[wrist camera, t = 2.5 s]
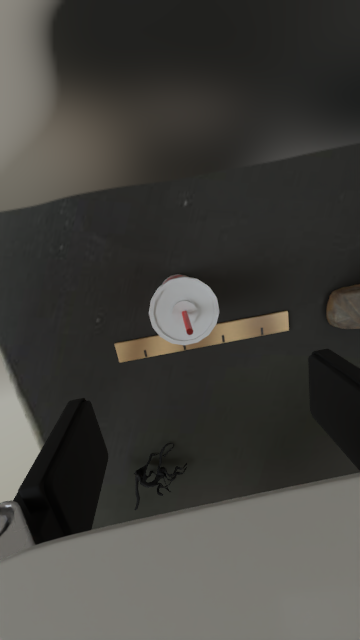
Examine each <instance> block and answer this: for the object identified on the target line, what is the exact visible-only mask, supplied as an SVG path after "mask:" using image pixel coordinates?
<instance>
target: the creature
mask: <svg viewBox="0 0 360 640" xmlns="http://www.w3.org/2000/svg"><path fill="white" fill-rule="evenodd" d="M169 444H173V443H168V444H166V445H165V446H164V447H163V449H162V450H161V452H160V463H159V466H158V469H157V474H156V478H155V480H154V481H152V482H149V483H147V482H146V479H147V478H148V477H150V476H151V473H152V472H153V471H150V473H149V476H146V469H147V466H148V464H149V462H150V461H151V458H152V456H153V455H154V456H155V454H150V457H149V461H148V463H147V464H146V465H145V466H144V467H142V468H140V469H138V470H137V471H135V475H136V476H135V481H136V497H137V504H136V508H135V510H136V509H137V508H138V505H139V500H140V497H139V492H138V482H139V481H140V484H141V485H143V486H145V487H147V488H149V487H153V486H156V485H159V486H158V487H157V494H158V495H160V496H163V494H162V493H160V492H159V488H165V487H167V486H168V485H166V486H165V487H164V486H163V485H162V484H161V483H158V481H159V480H160V479H161V478H163V479H164V476H165V477H166V478H167V476H166V474H167V475H168V476H169V477H171V476H173V475H175V476H174V477H173V478H172V477H171V478H172V480H170V481H171V482H172V481H173V480H174V479H175V478H176V475H177V474H178V475H180V474H183V473H184V471H185V470H186V468H187V467H186V468H185V469H184V471H183V473H180V472H176V471H177V469H180V470H181V469H183V468H184V467H185V466H186V465H187V463H186V464H185V466H184V467H183V468H180V467H178V466H176V468H175V471H174V473H173V474H171V475H170V474H168V473H167V471H166V469H165V468H164V467H161V468H160V466H161V463H162V453H163V451H164V449H165V447H166V446H167V445H169ZM173 447H174V444H173ZM171 449H172V448H171ZM171 449H170V450H171ZM170 450H169V451H170ZM169 451H168V452H169ZM168 452H167V453H168ZM156 455H157V454H156ZM166 455H167V454H165V455H163V456H164V457H165V456H166ZM153 473H154V472H153ZM154 474H155V473H154ZM167 479H168V478H167ZM168 480H169V479H168ZM164 481H165V480H164ZM171 482H170V483H171ZM165 484H166V483H165ZM161 485H162V486H161ZM165 489H167V490H168V491H169V489H168V488H165ZM169 492H170V491H169Z"/></svg>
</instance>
